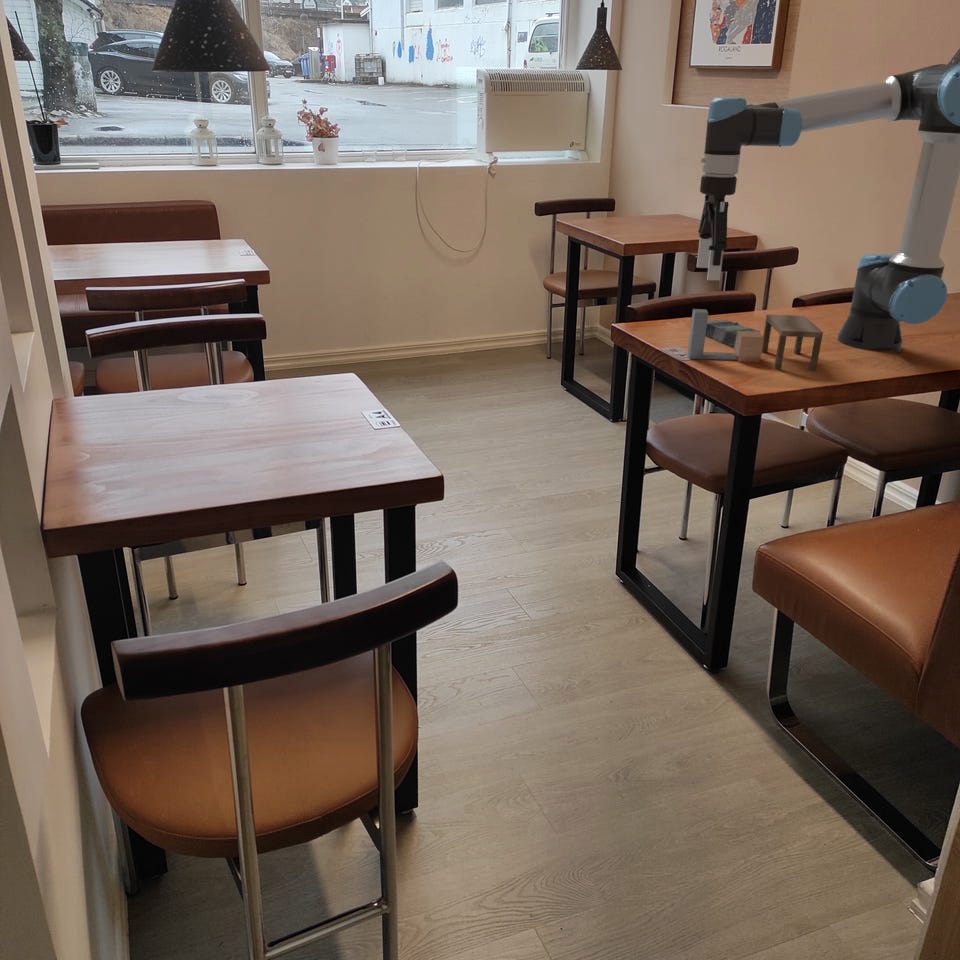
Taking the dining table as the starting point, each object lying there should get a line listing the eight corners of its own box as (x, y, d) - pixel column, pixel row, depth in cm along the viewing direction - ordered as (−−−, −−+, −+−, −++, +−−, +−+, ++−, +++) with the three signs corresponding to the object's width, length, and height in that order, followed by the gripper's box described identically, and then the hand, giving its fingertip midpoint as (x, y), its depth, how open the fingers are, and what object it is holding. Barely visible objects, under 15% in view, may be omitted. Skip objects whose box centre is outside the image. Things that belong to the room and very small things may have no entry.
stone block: (726, 336, 235) (729, 316, 232) (762, 351, 222) (765, 331, 220) (697, 339, 231) (700, 319, 229) (732, 354, 219) (735, 333, 217)
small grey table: (797, 357, 217) (805, 315, 213) (814, 376, 204) (823, 332, 200) (760, 356, 218) (766, 314, 213) (774, 374, 204) (781, 330, 200)
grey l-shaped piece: (755, 356, 213) (762, 310, 208) (759, 362, 208) (767, 315, 204) (686, 353, 214) (692, 308, 209) (690, 360, 209) (695, 313, 204)
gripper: (692, 168, 206) (682, 262, 215) (712, 181, 183) (700, 285, 192) (725, 169, 206) (714, 263, 215) (749, 181, 183) (736, 286, 192)
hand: (707, 273), depth 203 cm, fingers open, 13 cm apart
